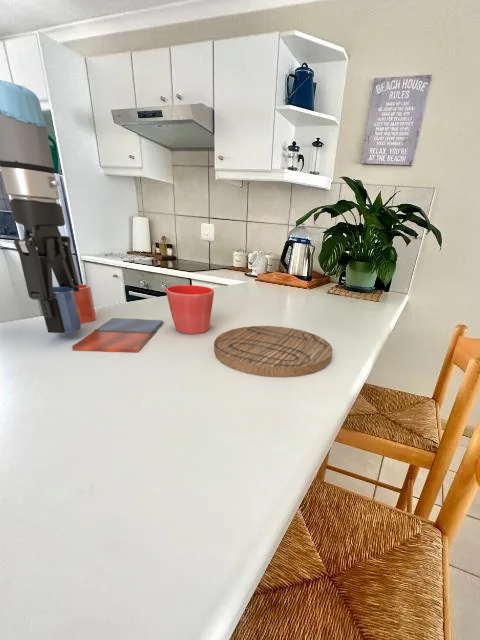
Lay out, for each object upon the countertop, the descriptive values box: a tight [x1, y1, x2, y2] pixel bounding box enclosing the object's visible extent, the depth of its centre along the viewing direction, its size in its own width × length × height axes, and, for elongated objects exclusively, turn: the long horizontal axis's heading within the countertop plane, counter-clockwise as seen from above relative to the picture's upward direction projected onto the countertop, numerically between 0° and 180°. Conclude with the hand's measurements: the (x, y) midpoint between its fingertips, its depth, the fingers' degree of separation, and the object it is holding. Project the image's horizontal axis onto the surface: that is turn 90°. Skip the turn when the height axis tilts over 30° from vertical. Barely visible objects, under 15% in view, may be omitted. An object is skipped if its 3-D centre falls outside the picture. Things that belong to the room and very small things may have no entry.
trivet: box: [213, 325, 334, 378], centre depth 69 cm, size 25×25×2 cm
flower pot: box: [165, 284, 215, 335], centre depth 76 cm, size 11×11×10 cm
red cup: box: [74, 283, 97, 324], centre depth 77 cm, size 6×6×8 cm
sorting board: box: [71, 317, 164, 353], centre depth 71 cm, size 12×20×1 cm, turn 5°
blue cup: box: [53, 285, 82, 334], centre depth 65 cm, size 6×6×8 cm
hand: (65, 327), depth 67 cm, fingers closed on blue cup, 6 cm apart
